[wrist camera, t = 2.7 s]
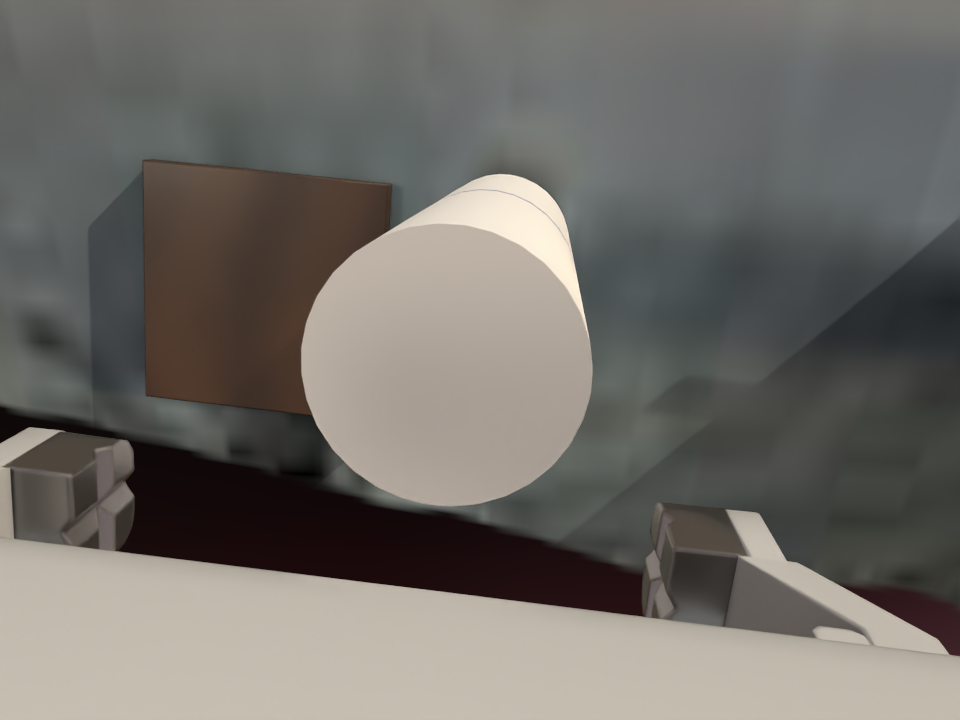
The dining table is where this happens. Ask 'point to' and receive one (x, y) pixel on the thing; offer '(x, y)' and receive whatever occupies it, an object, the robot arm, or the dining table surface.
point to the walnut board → (243, 275)
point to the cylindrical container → (454, 348)
